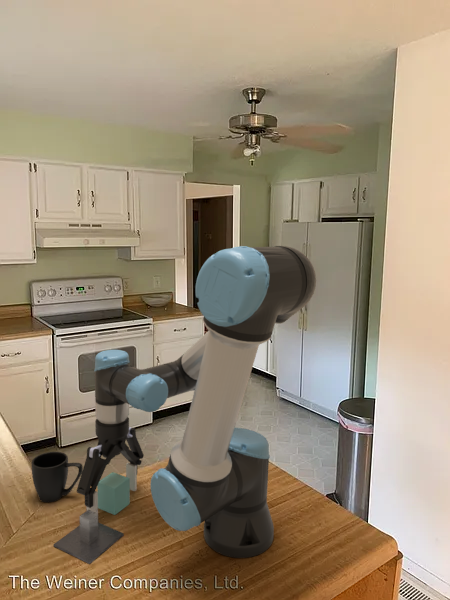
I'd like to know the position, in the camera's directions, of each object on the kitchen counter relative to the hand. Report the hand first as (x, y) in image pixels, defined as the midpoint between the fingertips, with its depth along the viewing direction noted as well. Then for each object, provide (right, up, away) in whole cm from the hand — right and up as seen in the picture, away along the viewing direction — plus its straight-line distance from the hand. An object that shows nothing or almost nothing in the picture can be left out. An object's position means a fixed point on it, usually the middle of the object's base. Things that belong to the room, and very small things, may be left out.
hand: (112, 502), depth 111 cm
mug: (-14, 0, +3) cm, 14 cm away
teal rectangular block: (0, -1, 0) cm, 1 cm away
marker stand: (-2, -3, -12) cm, 13 cm away
